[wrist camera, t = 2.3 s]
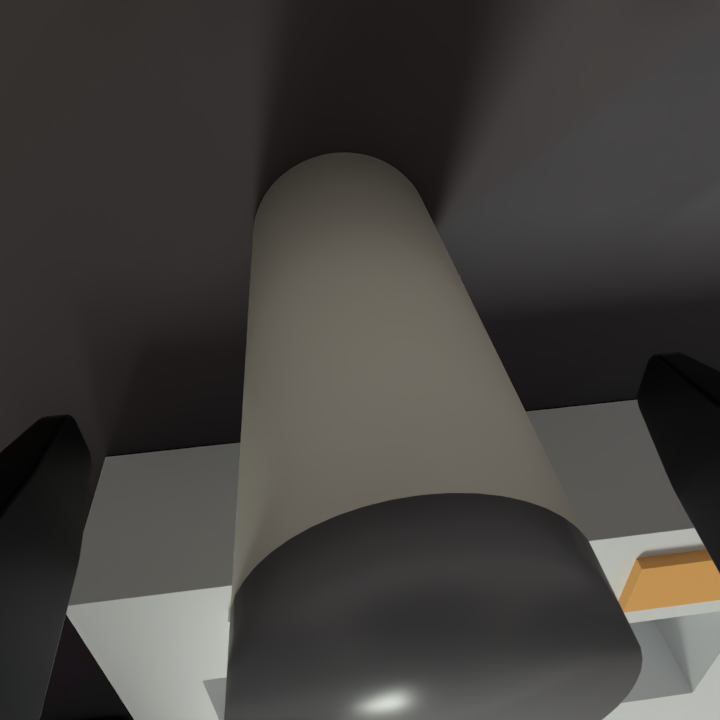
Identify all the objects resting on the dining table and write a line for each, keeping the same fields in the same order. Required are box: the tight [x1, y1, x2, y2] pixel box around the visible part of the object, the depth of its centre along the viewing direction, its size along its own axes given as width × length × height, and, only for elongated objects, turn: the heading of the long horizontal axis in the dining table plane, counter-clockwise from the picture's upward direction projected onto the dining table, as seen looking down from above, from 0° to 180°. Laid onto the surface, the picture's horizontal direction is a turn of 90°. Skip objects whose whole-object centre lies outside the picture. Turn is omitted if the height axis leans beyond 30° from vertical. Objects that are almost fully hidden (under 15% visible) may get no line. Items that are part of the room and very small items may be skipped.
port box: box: [66, 400, 720, 720], centre depth 20 cm, size 20×14×5 cm
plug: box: [224, 152, 643, 720], centre depth 10 cm, size 4×4×10 cm
